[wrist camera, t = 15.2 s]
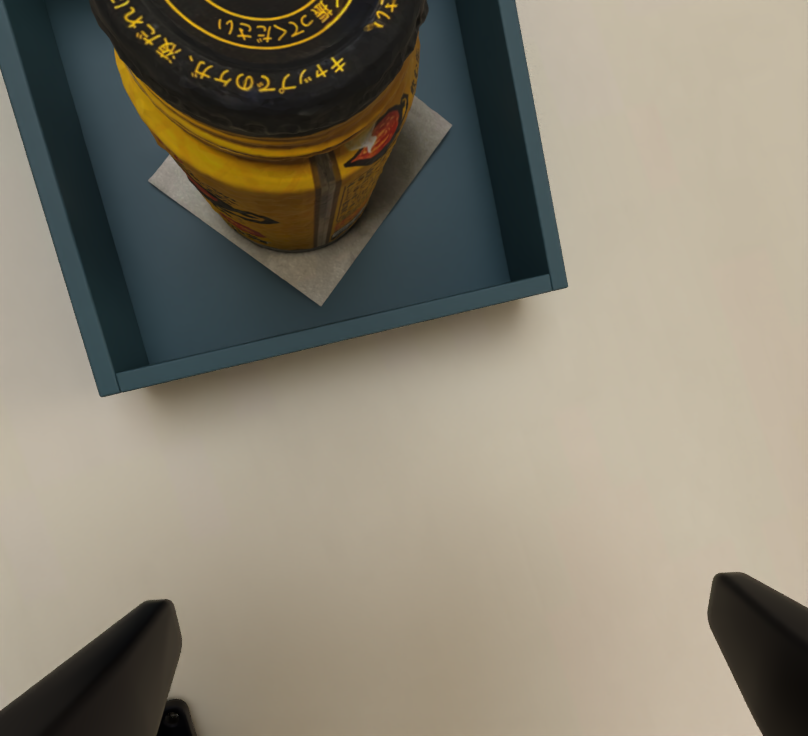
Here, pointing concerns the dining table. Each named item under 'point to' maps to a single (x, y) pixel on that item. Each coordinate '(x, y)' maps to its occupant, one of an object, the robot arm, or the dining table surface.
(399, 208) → the tote
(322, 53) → the condiment
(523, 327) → the dining table surface
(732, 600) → the robot arm
